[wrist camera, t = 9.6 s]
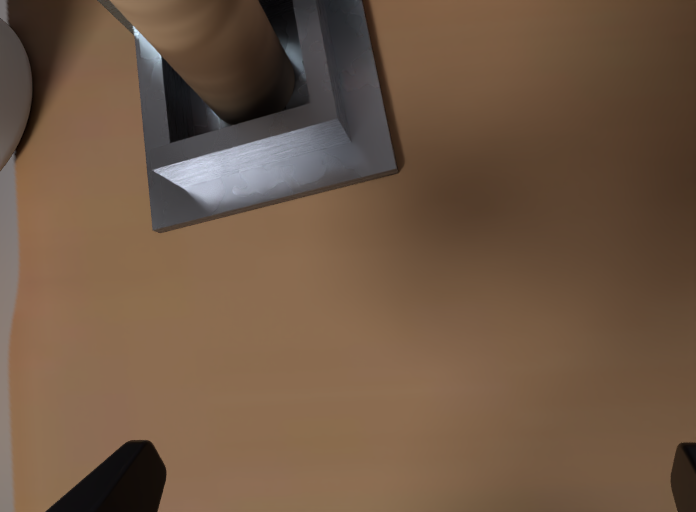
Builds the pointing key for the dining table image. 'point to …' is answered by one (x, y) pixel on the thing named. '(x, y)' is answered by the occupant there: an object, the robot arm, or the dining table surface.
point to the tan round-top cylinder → (219, 52)
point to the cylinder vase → (13, 91)
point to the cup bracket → (267, 122)
